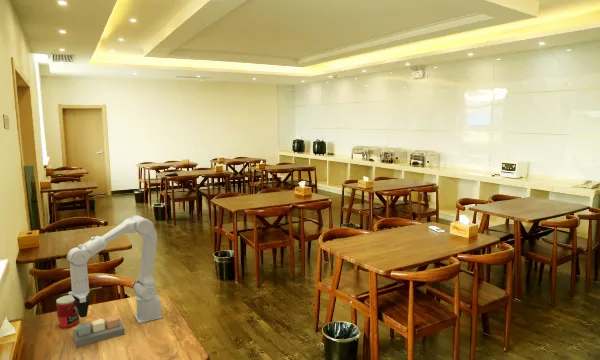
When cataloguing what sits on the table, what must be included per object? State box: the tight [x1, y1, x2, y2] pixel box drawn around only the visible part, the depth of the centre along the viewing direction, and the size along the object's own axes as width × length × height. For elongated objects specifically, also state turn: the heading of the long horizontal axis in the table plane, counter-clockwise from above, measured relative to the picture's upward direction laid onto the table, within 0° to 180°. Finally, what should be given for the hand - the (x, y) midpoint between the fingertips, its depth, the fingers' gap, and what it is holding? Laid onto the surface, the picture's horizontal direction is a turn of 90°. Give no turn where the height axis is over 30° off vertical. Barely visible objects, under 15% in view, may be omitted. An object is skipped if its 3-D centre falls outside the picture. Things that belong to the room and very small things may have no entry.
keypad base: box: [72, 317, 125, 348], centre depth 161 cm, size 17×10×2 cm, turn 123°
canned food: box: [55, 294, 81, 329], centre depth 170 cm, size 8×8×11 cm
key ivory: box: [91, 318, 105, 333], centre depth 161 cm, size 4×4×3 cm
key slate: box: [76, 321, 91, 336], centre depth 158 cm, size 4×4×3 cm
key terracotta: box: [105, 314, 119, 329], centre depth 164 cm, size 4×4×3 cm
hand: (82, 313), depth 157 cm, fingers open, 6 cm apart
